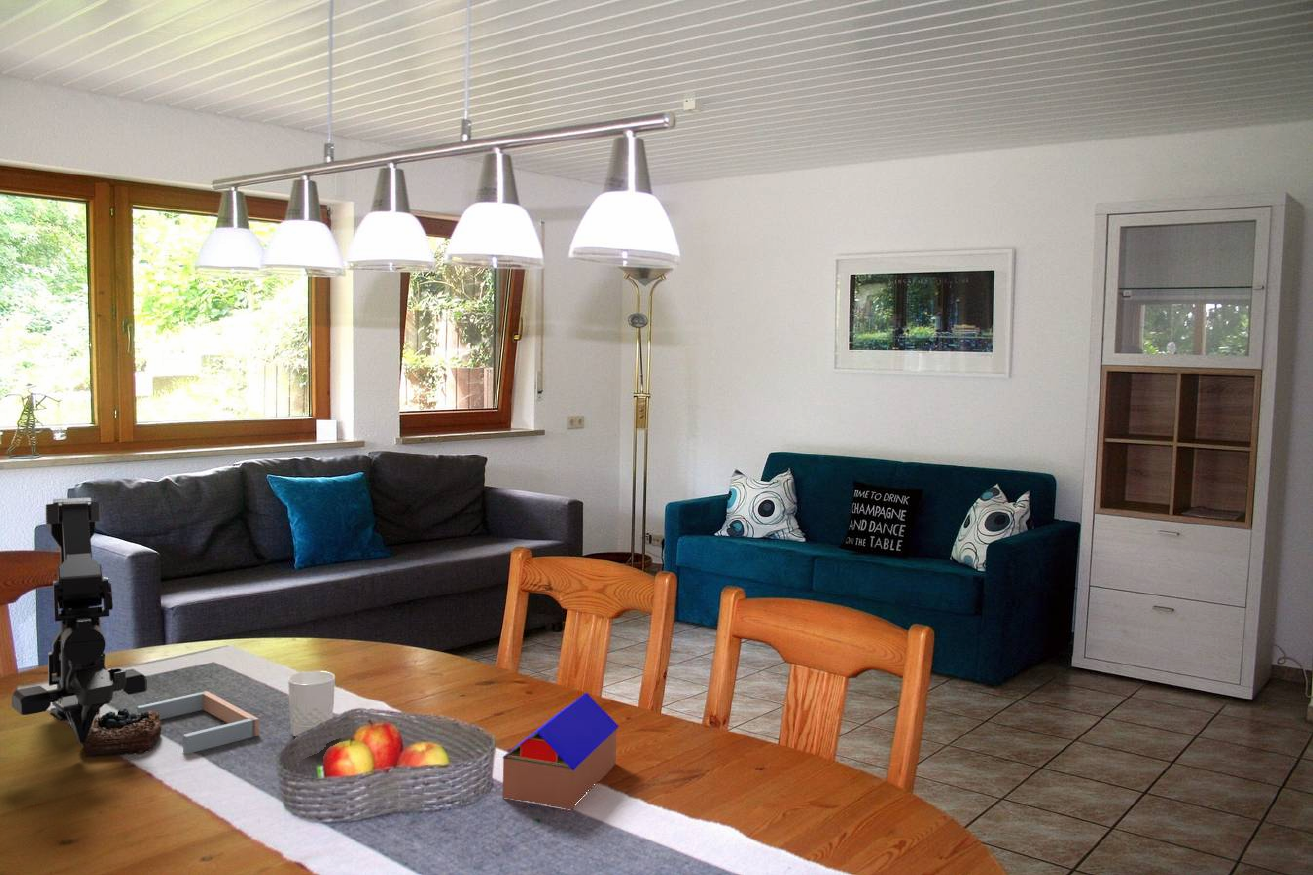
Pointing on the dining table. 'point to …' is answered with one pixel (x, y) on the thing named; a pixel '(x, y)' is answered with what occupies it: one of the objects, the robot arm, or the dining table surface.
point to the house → (562, 756)
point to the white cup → (310, 699)
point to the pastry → (122, 733)
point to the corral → (237, 719)
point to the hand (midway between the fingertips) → (81, 741)
